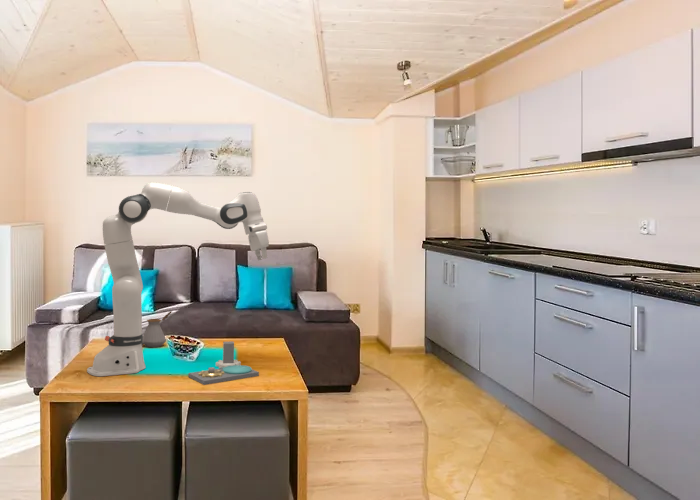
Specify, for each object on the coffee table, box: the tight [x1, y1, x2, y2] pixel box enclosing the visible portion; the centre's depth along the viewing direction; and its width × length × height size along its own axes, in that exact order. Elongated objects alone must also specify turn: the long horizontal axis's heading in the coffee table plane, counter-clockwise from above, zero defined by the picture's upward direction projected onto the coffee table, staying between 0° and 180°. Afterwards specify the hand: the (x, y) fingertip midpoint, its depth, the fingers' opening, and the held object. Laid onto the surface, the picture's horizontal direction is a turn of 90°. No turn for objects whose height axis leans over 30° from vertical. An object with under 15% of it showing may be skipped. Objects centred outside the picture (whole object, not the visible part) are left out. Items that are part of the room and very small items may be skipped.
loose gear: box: [215, 340, 242, 369], centre depth 263 cm, size 10×10×10 cm
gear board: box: [187, 364, 260, 386], centre depth 245 cm, size 24×14×4 cm, turn 129°
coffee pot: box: [143, 311, 174, 348], centre depth 303 cm, size 21×12×15 cm, turn 164°
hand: (262, 259), depth 265 cm, fingers open, 8 cm apart
